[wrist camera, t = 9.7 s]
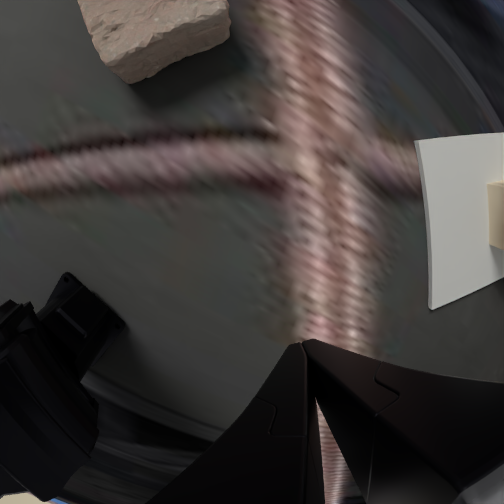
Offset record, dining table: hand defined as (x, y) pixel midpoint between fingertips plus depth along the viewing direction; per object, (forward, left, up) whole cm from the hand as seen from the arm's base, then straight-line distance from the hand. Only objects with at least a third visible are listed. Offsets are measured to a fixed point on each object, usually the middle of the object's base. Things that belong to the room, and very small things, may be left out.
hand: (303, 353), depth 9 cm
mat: (+18, -13, -12) cm, 26 cm away
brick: (+8, +21, -13) cm, 26 cm away
